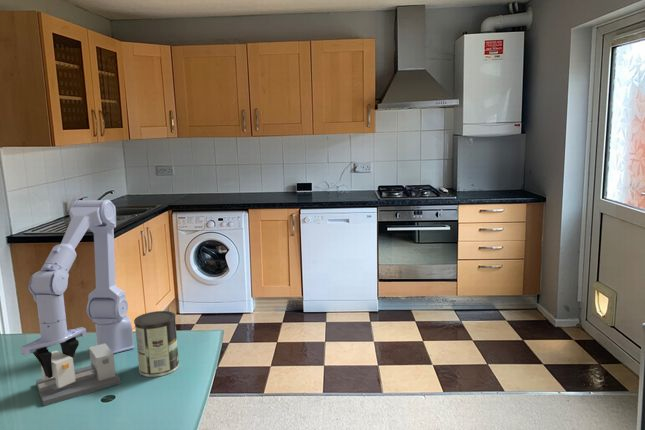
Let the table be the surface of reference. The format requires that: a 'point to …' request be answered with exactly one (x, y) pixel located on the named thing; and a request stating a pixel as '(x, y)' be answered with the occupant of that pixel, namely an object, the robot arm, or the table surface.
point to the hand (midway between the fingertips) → (58, 372)
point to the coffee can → (156, 343)
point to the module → (61, 369)
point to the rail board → (83, 378)
